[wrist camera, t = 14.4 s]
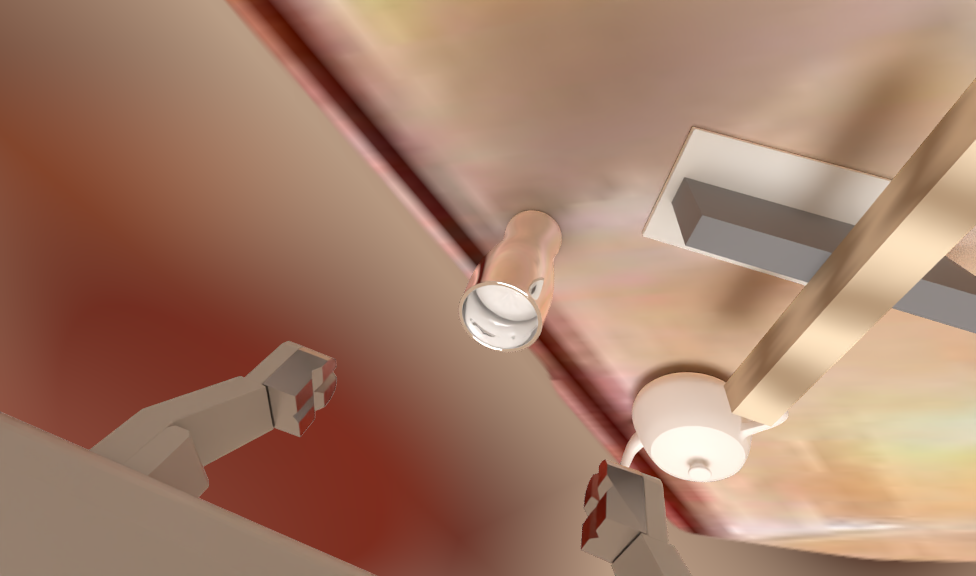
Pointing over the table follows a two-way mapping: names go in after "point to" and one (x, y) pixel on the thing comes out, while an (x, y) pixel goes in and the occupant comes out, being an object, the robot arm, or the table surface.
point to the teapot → (691, 428)
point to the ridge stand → (785, 218)
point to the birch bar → (867, 269)
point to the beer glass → (513, 285)
